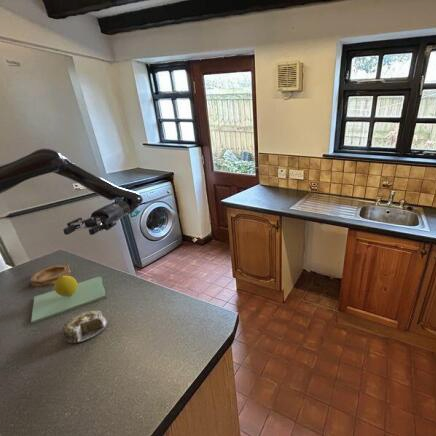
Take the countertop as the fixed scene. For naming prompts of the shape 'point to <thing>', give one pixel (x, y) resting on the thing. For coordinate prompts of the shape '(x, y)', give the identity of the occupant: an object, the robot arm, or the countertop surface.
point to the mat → (67, 300)
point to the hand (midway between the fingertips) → (77, 232)
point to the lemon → (66, 286)
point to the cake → (84, 326)
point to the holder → (49, 275)
